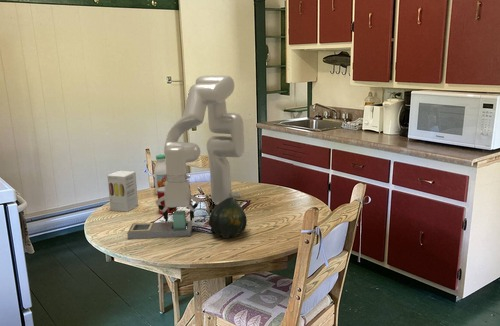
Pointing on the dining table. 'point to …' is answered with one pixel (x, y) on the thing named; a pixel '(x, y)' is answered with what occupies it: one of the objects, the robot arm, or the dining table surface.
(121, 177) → the supplement box
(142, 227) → the grey peg hole board
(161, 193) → the canned food
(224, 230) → the squash
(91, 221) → the dining table surface
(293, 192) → the dining table surface
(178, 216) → the peg
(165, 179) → the milk bottle
